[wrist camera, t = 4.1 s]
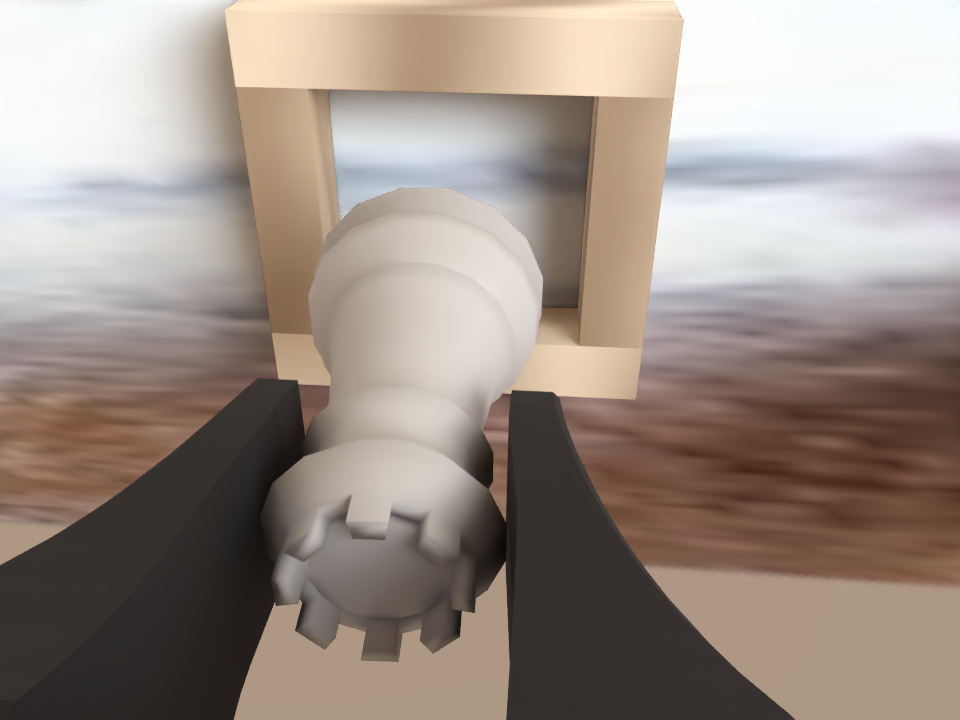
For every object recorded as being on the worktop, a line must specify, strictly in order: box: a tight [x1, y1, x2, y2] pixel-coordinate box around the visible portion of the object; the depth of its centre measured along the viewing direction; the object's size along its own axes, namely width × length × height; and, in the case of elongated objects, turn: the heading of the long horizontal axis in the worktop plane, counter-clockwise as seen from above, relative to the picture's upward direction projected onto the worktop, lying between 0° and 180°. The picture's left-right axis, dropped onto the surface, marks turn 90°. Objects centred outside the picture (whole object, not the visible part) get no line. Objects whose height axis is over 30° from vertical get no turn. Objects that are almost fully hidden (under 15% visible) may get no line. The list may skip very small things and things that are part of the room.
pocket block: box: [224, 0, 684, 399], centre depth 20 cm, size 9×9×2 cm
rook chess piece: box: [260, 188, 543, 662], centre depth 14 cm, size 4×4×8 cm
